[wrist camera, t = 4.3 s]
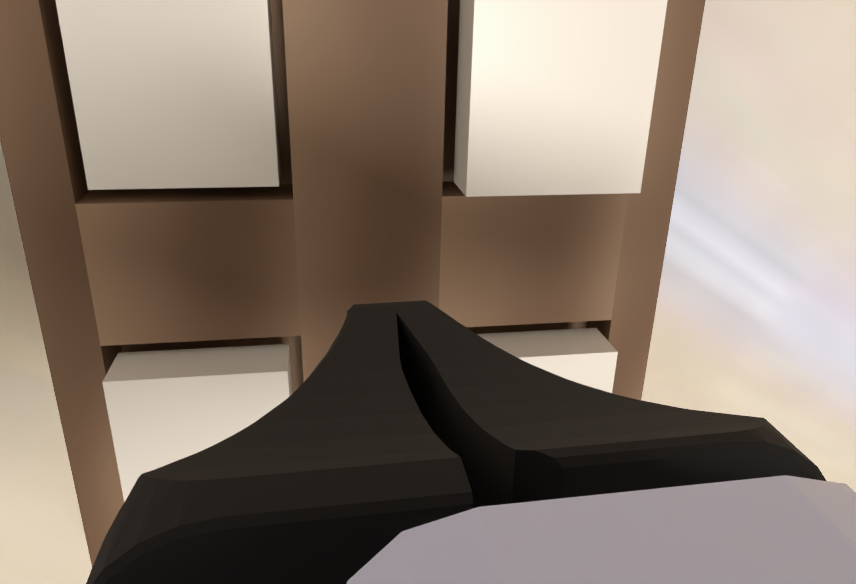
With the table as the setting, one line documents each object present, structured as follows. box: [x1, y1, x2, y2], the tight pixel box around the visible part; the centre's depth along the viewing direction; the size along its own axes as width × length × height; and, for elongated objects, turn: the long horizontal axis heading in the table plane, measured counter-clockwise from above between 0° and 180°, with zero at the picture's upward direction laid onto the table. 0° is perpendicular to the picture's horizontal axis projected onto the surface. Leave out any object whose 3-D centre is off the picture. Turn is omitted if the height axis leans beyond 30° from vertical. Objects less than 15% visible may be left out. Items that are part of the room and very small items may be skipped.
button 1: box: [102, 344, 292, 502], centre depth 17 cm, size 4×4×1 cm
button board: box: [0, 0, 705, 567], centre depth 17 cm, size 15×24×4 cm, turn 179°
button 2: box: [477, 328, 618, 393], centre depth 18 cm, size 4×4×1 cm
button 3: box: [56, 0, 281, 190], centre depth 15 cm, size 4×4×1 cm
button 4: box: [454, 0, 668, 197], centre depth 15 cm, size 4×4×1 cm
